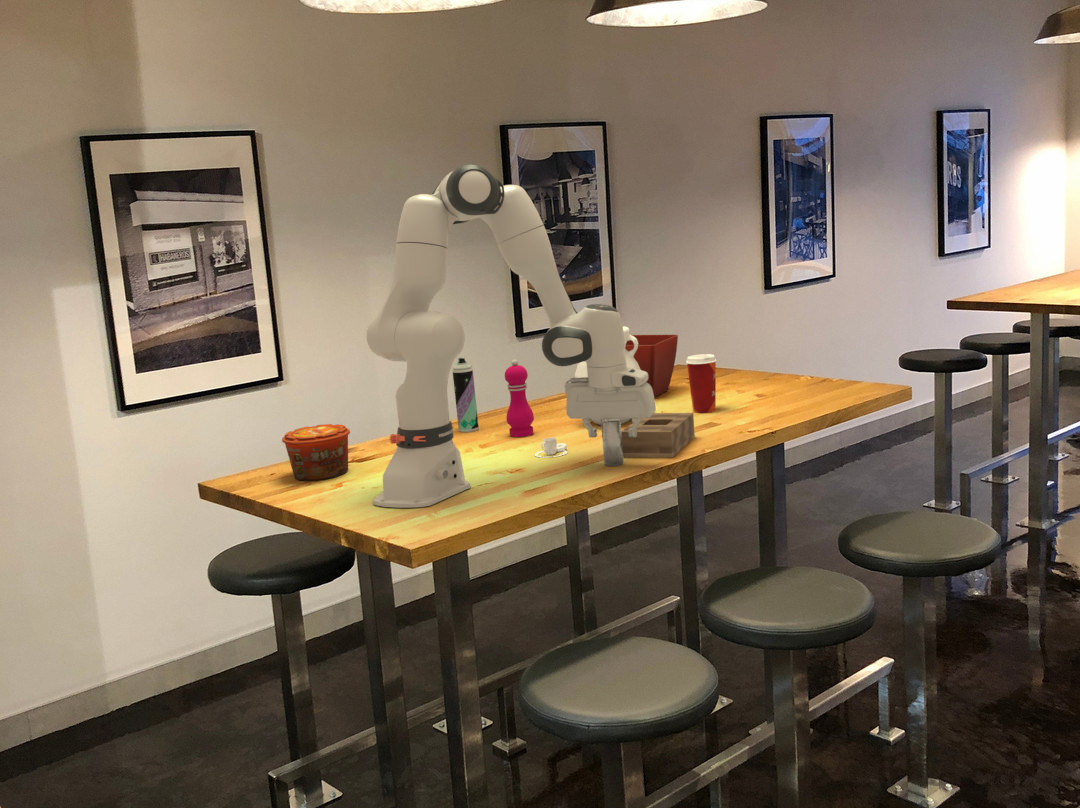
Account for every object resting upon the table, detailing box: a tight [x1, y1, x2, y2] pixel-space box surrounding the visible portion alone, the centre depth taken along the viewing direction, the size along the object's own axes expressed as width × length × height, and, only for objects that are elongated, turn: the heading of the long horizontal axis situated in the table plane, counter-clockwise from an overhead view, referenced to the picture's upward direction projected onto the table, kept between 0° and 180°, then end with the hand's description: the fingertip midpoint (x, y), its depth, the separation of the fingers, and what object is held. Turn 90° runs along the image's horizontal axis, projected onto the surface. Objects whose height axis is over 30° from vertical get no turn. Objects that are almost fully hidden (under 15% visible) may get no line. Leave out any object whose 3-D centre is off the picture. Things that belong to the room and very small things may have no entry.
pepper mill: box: [504, 359, 535, 438], centre depth 276 cm, size 7×7×20 cm
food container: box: [281, 423, 351, 482], centre depth 253 cm, size 16×16×11 cm
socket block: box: [621, 412, 695, 459], centre depth 250 cm, size 20×12×6 cm, turn 157°
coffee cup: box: [685, 353, 718, 414], centre depth 285 cm, size 8×8×15 cm
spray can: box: [452, 357, 479, 433], centre depth 287 cm, size 6×6×20 cm
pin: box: [600, 419, 625, 468], centre depth 238 cm, size 4×4×10 cm
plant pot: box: [625, 334, 679, 398], centre depth 315 cm, size 19×19×17 cm
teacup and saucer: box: [534, 437, 568, 459], centre depth 253 cm, size 9×8×4 cm
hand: (612, 436), depth 238 cm, fingers open, 8 cm apart
